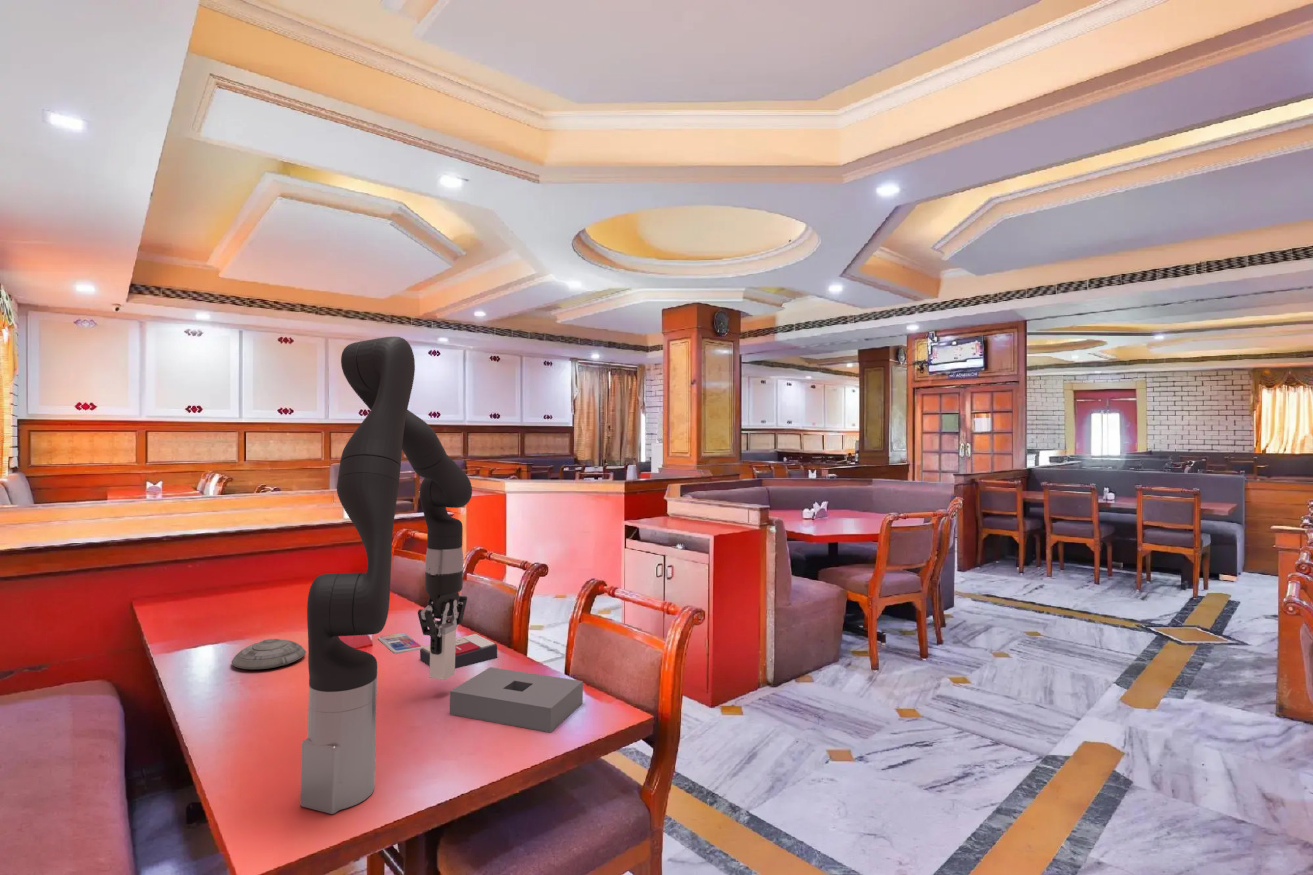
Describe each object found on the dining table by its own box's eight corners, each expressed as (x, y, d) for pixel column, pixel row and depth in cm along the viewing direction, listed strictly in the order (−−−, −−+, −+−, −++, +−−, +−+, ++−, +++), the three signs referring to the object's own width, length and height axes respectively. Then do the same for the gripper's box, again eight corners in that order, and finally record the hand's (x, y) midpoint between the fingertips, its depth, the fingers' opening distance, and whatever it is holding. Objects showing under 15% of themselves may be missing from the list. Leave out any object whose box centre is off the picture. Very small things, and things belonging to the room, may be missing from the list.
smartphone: (405, 631, 173) (424, 646, 161) (405, 635, 173) (424, 650, 161) (376, 636, 168) (394, 651, 156) (376, 639, 168) (394, 655, 156)
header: (550, 732, 116) (551, 708, 116) (449, 714, 123) (450, 691, 123) (582, 702, 130) (583, 681, 130) (489, 687, 136) (490, 667, 136)
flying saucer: (246, 679, 139) (247, 654, 139) (221, 663, 148) (221, 640, 148) (317, 661, 151) (317, 638, 151) (289, 647, 160) (289, 626, 160)
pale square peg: (444, 680, 130) (445, 628, 130) (429, 677, 131) (430, 626, 131) (454, 673, 133) (456, 623, 133) (440, 671, 134) (441, 621, 134)
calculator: (419, 646, 153) (476, 631, 163) (419, 663, 153) (476, 647, 163) (439, 658, 145) (497, 641, 155) (439, 676, 145) (498, 658, 155)
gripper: (450, 561, 140) (448, 638, 140) (406, 573, 126) (404, 659, 126) (479, 563, 138) (477, 642, 138) (437, 577, 124) (436, 664, 124)
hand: (442, 650), depth 132 cm, fingers closed on pale square peg, 3 cm apart
